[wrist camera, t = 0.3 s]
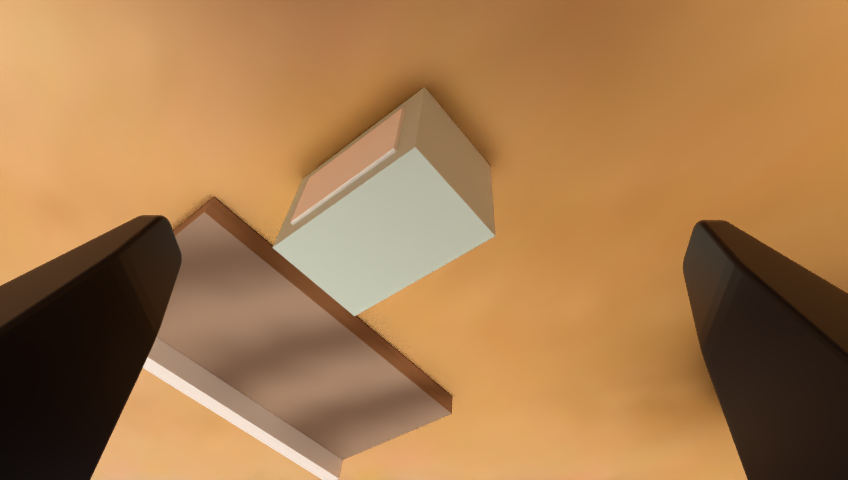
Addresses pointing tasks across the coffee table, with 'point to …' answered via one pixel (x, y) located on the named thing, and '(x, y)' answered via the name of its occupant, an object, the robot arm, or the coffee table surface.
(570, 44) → the coffee table surface
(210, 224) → the shelf board
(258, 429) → the rail
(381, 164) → the tea tin
